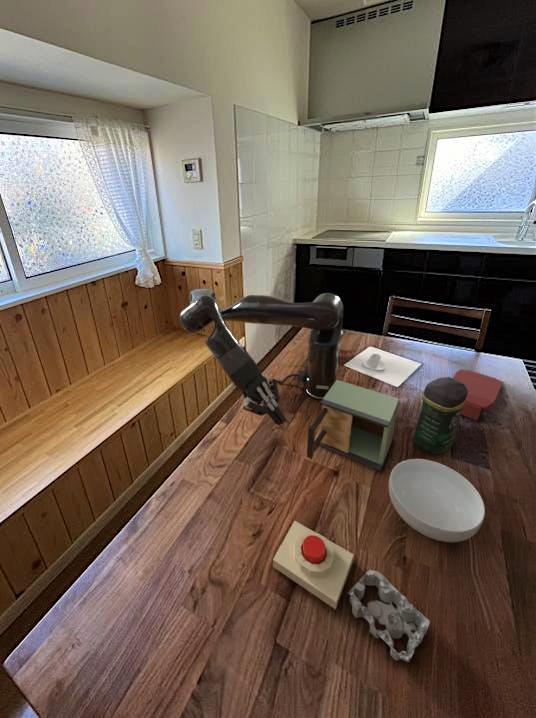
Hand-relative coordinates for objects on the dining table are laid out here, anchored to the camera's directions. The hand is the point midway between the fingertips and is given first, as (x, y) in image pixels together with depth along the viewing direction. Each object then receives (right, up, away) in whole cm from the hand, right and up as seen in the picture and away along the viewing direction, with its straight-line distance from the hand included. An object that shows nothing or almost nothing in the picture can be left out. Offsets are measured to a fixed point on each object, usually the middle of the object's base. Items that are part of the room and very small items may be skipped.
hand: (282, 422), depth 82 cm
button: (+3, -17, -21) cm, 27 cm away
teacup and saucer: (+43, +8, +42) cm, 60 cm away
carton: (+63, +1, +23) cm, 67 cm away
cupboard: (+21, -7, +8) cm, 23 cm away
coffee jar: (+41, -7, +6) cm, 42 cm away
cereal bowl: (+29, -16, -12) cm, 35 cm away
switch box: (+3, -20, -20) cm, 29 cm away
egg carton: (+13, -24, -28) cm, 38 cm away
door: (+12, -9, +2) cm, 15 cm away
